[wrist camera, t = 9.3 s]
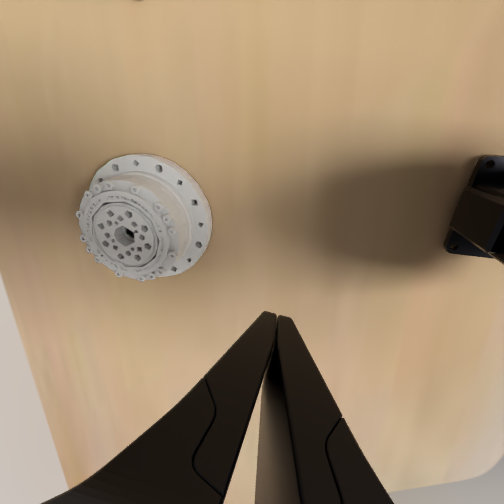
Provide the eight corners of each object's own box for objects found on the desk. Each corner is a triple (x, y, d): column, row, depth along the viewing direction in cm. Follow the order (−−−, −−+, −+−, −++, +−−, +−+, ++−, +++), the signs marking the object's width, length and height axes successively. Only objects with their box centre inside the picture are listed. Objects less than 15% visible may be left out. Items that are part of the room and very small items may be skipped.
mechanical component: (175, 130, 19) (75, 181, 22) (143, 132, 15) (27, 193, 18) (233, 250, 23) (139, 280, 26) (218, 277, 19) (110, 309, 22)
